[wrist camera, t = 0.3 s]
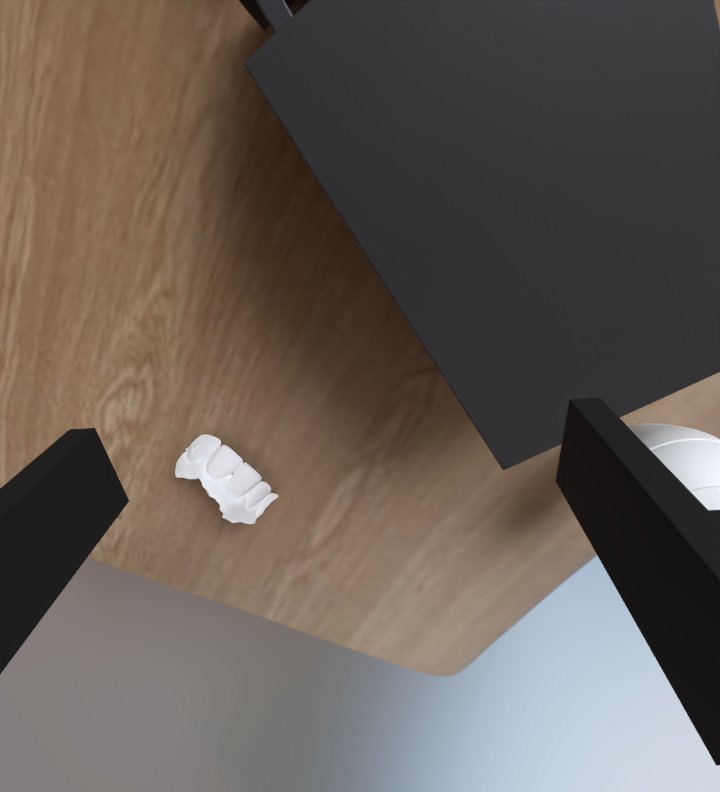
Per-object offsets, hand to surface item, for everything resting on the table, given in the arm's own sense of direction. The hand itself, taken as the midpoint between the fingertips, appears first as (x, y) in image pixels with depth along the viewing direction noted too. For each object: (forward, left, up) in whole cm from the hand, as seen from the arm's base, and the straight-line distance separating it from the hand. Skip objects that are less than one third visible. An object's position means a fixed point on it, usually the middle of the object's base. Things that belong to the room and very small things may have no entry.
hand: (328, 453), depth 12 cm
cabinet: (0, +9, -17) cm, 20 cm away
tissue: (+7, -17, -18) cm, 25 cm away
